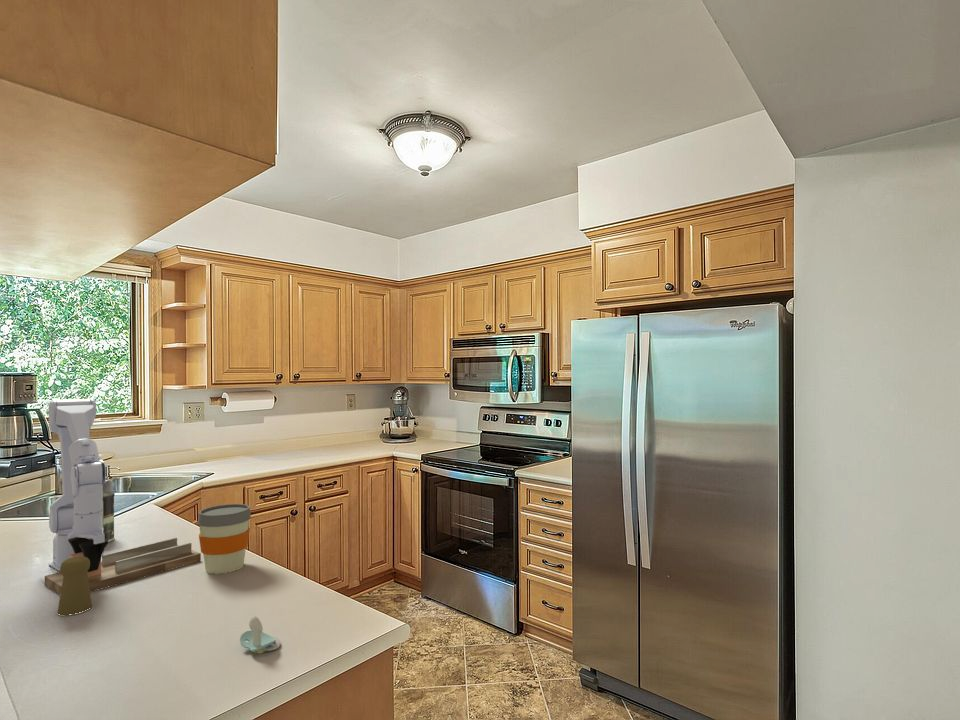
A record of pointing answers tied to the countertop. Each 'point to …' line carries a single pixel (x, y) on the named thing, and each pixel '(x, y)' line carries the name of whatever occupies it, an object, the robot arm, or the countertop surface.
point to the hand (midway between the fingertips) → (88, 568)
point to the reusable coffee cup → (224, 536)
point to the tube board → (135, 564)
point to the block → (91, 571)
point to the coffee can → (108, 515)
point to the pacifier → (258, 638)
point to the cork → (75, 586)
